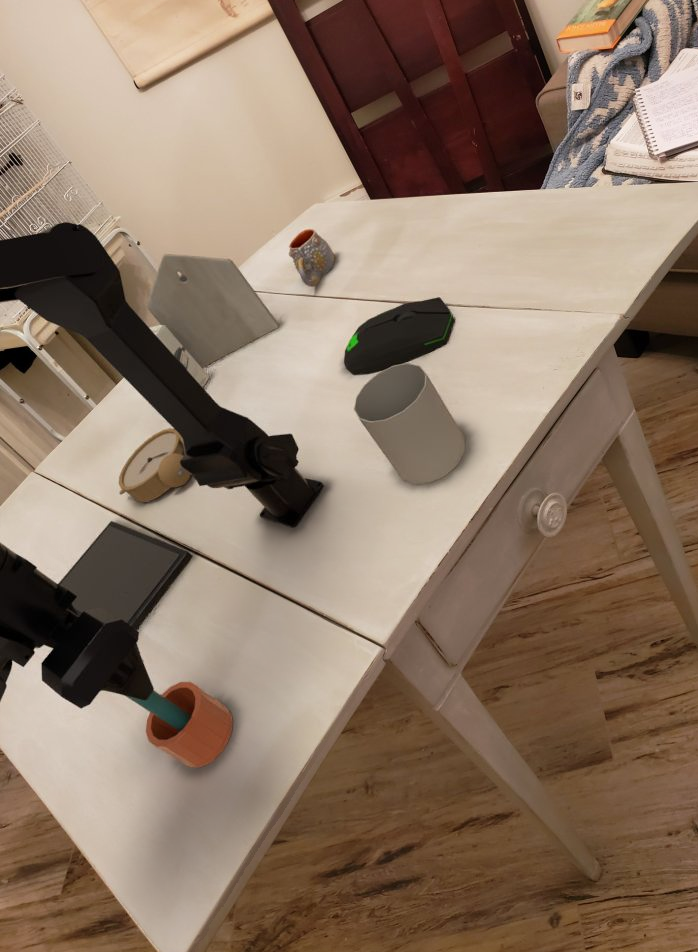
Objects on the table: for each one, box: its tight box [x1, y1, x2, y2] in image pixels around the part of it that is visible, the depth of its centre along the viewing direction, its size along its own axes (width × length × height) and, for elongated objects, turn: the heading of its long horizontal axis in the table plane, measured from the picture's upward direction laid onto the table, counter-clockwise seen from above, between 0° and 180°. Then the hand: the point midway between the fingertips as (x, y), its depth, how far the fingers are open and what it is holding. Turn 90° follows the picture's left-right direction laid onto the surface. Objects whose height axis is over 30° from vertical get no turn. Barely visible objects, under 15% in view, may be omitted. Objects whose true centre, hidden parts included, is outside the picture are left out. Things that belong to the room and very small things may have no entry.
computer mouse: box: [343, 296, 455, 376], centre depth 98 cm, size 11×16×4 cm
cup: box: [353, 362, 466, 485], centre depth 77 cm, size 8×8×10 cm
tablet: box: [57, 520, 193, 630], centre depth 92 cm, size 20×13×1 cm, turn 54°
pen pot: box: [145, 681, 234, 769], centre depth 67 cm, size 6×6×5 cm
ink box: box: [148, 324, 210, 388], centre depth 116 cm, size 8×5×12 cm, turn 68°
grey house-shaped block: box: [146, 253, 280, 369], centre depth 118 cm, size 16×8×19 cm, turn 96°
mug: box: [288, 228, 336, 287], centre depth 123 cm, size 12×7×7 cm, turn 174°
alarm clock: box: [118, 427, 192, 503], centre depth 103 cm, size 11×5×15 cm
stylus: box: [125, 689, 191, 731], centre depth 65 cm, size 2×2×11 cm
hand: (122, 675), depth 61 cm, fingers open, 9 cm apart
